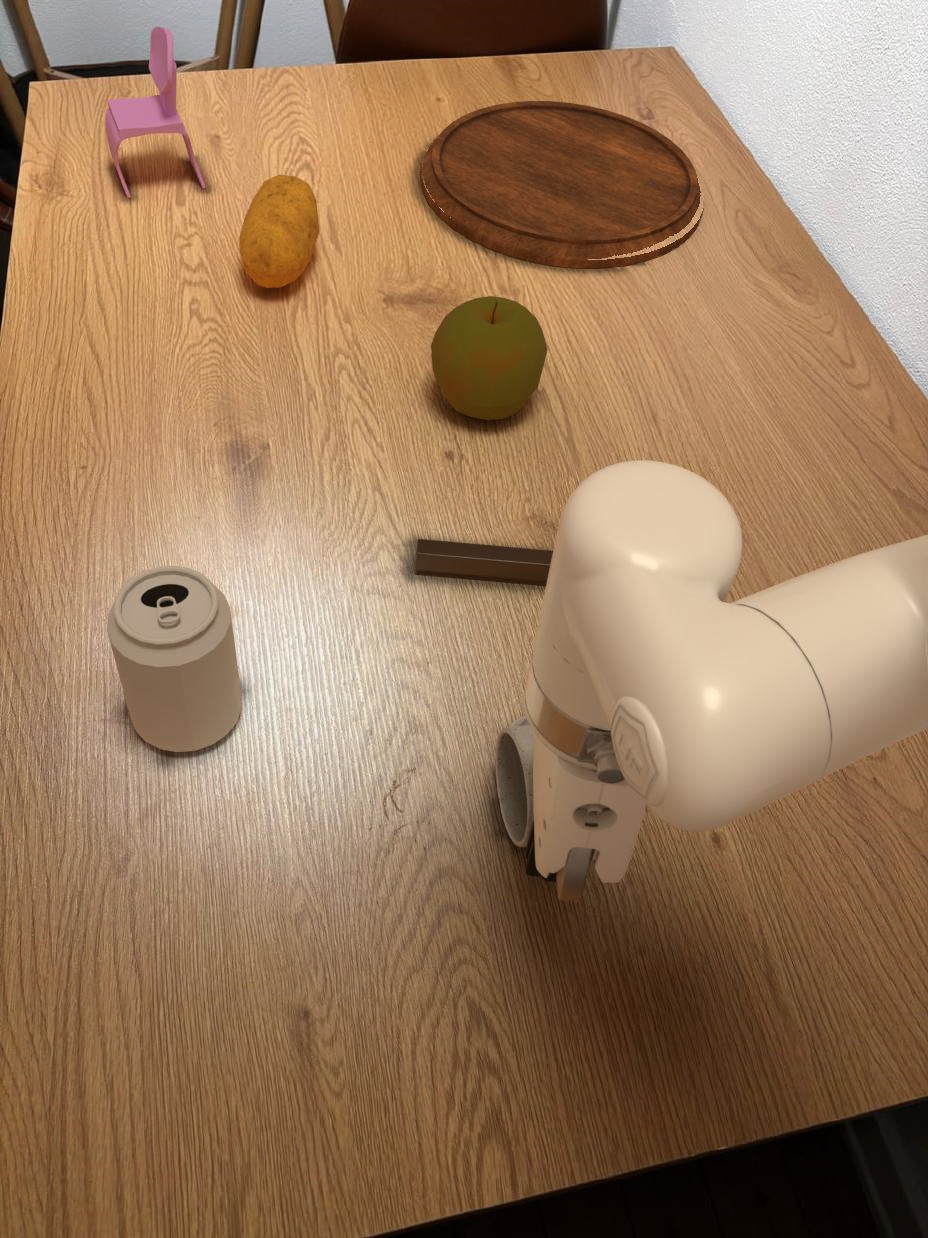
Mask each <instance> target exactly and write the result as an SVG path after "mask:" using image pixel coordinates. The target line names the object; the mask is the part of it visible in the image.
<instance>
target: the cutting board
mask: <svg viewBox="0 0 928 1238" xmlns="http://www.w3.org/2000/svg"><path fill="white" fill-rule="evenodd" d="M432 142H433V143H432ZM432 142H431V144H430V145H429V146H430V147H429V146H428V148H429V149H428V148H427V149H428V151H427V152H426V151H425V152H426V155H425V154H424V155H425V157H424V156H423V158H424V160H423V158H422V160H423V167H422V162H421V164H420V170H421V169H422V173H423V174H421V173H420V177H419V178H420V179H419V180H420V181H419V183H420V187H421V191H422V194H423V197H424V198H425V200H426V202H427V203H428V206H429V207H430V208H431V209H432V210H433V212H434V213H435V214H436V215H437V216H438V218H439V219H440V220H441V221H443V223H445V224H446V225H447V226H449V227H450V228H451V229H452V230H454V231H455V232H457V233H458V234H460V235H462V236H463V237H465V238H466V239H468V240H470V241H472V242H473V243H476V244H478V245H479V246H482V247H484V248H486V249H488V250H491V251H492V252H493V251H494V252H496V253H498V254H501V255H505V256H507V257H510V258H514V259H518V260H522V261H526V262H530V263H533V264H539V265H546V266H552V267H557V268H570V269H571V268H572V269H607V268H609V269H610V268H616V267H625V266H626V267H627V266H631V265H635V264H640V263H644V262H648V261H650V260H653V259H657V258H658V257H662V256H665V255H666V254H668V253H670V252H672V251H673V250H675V249H677V248H678V247H679V248H680V246H681V245H682V244H684V243H685V242H686V241H688V240H689V239H690V238H691V236H692V235H693V234H694V233H695V231H696V230H697V229H698V227H699V225H700V223H701V220H702V217H703V214H704V210H705V207H704V208H703V211H702V214H701V216H700V219H699V220H698V221H697V223H696V224H695V225H694V227H693V228H692V229H691V230H690V231H689V232H688V233H686V234H685V235H684V236H683V237H682V238H680V239H678V240H676V241H675V242H673V243H671V244H669V245H667V246H665V247H662V248H660V249H657V250H654V251H651V252H649V253H644V254H640V255H635V256H631V257H624V258H615V259H607V260H588V259H602V258H608V257H612V256H614V255H615V256H617V255H618V256H619V255H623V254H626V255H627V254H628V253H631V254H632V253H633V252H637V251H640V250H643V249H644V248H646V249H647V247H649V248H650V247H651V246H653V244H654V245H655V244H657V243H659V242H662V241H664V240H665V239H667V238H669V236H674V234H677V233H679V232H680V231H681V230H682V229H684V228H685V227H686V226H687V225H688V224H689V223H690V222H691V220H692V218H693V217H694V215H695V213H696V211H697V209H698V207H699V204H700V196H701V195H700V193H701V191H700V186H699V183H698V178H699V177H698V178H697V176H698V174H697V170H696V169H695V166H694V165H693V162H692V161H691V158H689V157H688V156H687V155H686V153H685V152H684V151H683V149H681V147H680V146H678V145H677V144H676V143H674V142H673V141H672V140H671V139H670V138H669V137H667V136H665V135H664V134H662V133H661V132H660V131H658V130H657V129H654V128H652V127H650V126H649V125H648V124H645V123H643V122H641V121H640V120H639V121H638V120H636V119H634V118H631V117H629V116H626V115H623V114H620V113H618V112H614V111H611V110H607V109H605V108H600V107H595V106H590V105H585V104H579V103H573V102H565V101H554V100H524V101H511V102H505V103H498V104H494V105H490V106H485V107H483V108H479V109H475V110H473V111H471V112H469V113H466V114H464V115H461V116H460V117H458V118H457V119H455V120H454V121H452V122H450V124H448V125H447V126H446V127H445V128H444V129H442V130H441V132H440V133H439V135H438V136H437V137H435V139H433V141H432ZM422 175H423V177H424V181H425V185H426V188H427V189H428V191H429V193H428V192H427V190H426V188H425V186H424V183H423V178H422ZM429 194H430V195H431V197H432V198H431V197H430V195H429ZM432 199H434V201H435V202H434V201H433V200H432ZM439 207H440V208H442V210H443V211H444V212H443V211H442V210H441V209H440V208H439ZM450 217H451V218H450Z"/></svg>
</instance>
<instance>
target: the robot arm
mask: <svg viewBox="0 0 928 1238" xmlns="http://www.w3.org/2000/svg"><path fill="white" fill-rule="evenodd" d="M556 531H557V532H556V536H555V540H554V546H553V550H552V551H553V555H552V560H551V564H550V569H549V574H548V579H547V584H546V586H545V589H544V593H543V594H544V595H543V598H542V604H541V609H540V613H539V617H538V623H537V628H536V632H535V637H534V641H533V648H532V651H531V657H530V662H529V666H528V671H527V676H526V682H525V685H524V691H523V698H522V699H523V700H522V701H523V702H522V703H523V710H524V714H525V716H526V718H527V721H528V723H529V725H530V727H531V729H532V731H533V732H534V751H533V811H534V820H533V823H532V827H531V831H530V834H529V838H528V842H527V846H526V847H525V859H526V864H525V875H527V876H529V877H541V880H543V881H545V882H550V883H556V893H557V894H556V895H557V900H558V901H564V902H579V903H581V902H582V900H583V894H584V890H585V887H586V881H587V877H588V874H589V869H590V863H591V861H595V863H594V869H595V872H596V873H597V876H598V878H599V879H600V881H601V883H602V884H618V883H619V882H620V881H621V880H622V879H623V878H624V877H625V875H626V874H627V871H628V868H629V865H630V862H631V859H632V856H633V853H634V849H635V845H636V843H637V840H638V837H639V834H640V830H641V827H642V822H643V819H644V816H645V810H646V806H647V808H649V809H650V810H651V811H652V812H653V814H654V815H655V816H656V817H658V819H660V820H662V822H664V823H666V824H667V825H668V826H671V827H673V828H674V829H677V830H680V831H684V832H692V833H696V832H709V831H713V830H716V829H719V828H722V827H725V826H727V825H730V824H733V823H734V822H737V821H739V820H740V819H742V818H744V817H747V816H749V815H751V814H753V813H755V812H757V811H759V810H761V809H764V808H765V807H767V806H770V805H772V804H774V803H777V802H778V801H779V800H781V799H784V798H786V797H788V796H790V795H792V794H795V793H797V792H798V791H801V790H803V789H804V788H807V787H810V786H811V785H812V784H814V783H816V782H818V781H820V780H821V779H823V778H826V777H827V776H830V775H832V774H834V773H835V772H837V771H840V770H842V769H843V768H845V767H848V766H850V765H852V764H854V763H856V762H858V761H860V760H862V759H865V758H866V757H868V756H870V755H872V754H875V753H877V752H879V751H881V750H884V749H885V748H888V747H890V746H892V745H895V744H896V743H899V742H901V741H903V740H905V739H908V738H909V737H912V736H914V735H916V734H919V733H921V732H924V731H928V534H924V535H921V536H918V537H917V536H916V537H914V538H911V539H907V540H903V541H900V542H895V543H893V544H888V545H886V546H882V547H879V548H876V549H872V550H869V551H865V552H863V553H859V554H856V555H853V556H850V557H847V558H844V559H841V560H839V561H836V562H833V563H830V564H827V565H825V566H821V567H819V568H816V569H814V570H812V571H808V572H806V573H803V574H800V575H797V576H795V577H793V578H789V579H787V580H784V581H783V582H779V583H777V584H774V585H772V586H770V587H767V588H765V589H763V590H760V591H757V592H754V593H752V594H749V595H747V596H745V597H742V598H740V599H737V600H735V601H732V602H726V601H727V598H728V596H729V594H730V591H731V589H732V586H733V584H734V582H735V579H736V576H737V574H738V573H737V572H738V570H739V567H740V564H741V560H742V555H743V534H742V527H741V525H740V520H739V518H738V516H737V514H736V512H735V509H734V508H733V505H732V504H731V503H730V501H729V500H728V499H727V497H726V496H725V495H724V494H723V493H722V492H721V491H720V490H719V489H718V488H717V487H716V486H715V485H714V484H712V483H711V482H710V481H708V480H707V479H706V478H704V477H702V476H701V475H699V474H697V473H696V472H693V471H692V470H689V469H686V468H685V467H682V466H680V465H676V464H673V463H669V462H663V461H658V460H649V459H648V460H647V459H639V460H638V459H636V460H633V459H631V460H625V461H619V462H615V463H612V464H609V465H607V466H604V467H603V468H600V469H598V470H596V471H594V472H593V473H591V474H590V475H588V476H587V477H586V478H584V479H583V480H582V481H581V482H580V483H579V484H578V485H577V487H576V488H575V489H574V490H573V491H572V493H571V494H570V495H569V496H568V498H567V500H566V502H565V505H564V507H563V510H562V512H561V515H560V518H559V522H558V527H557V530H556Z"/></svg>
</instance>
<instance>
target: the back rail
mask: <svg viewBox="0 0 928 1238" xmlns="http://www.w3.org/2000/svg"><path fill="white" fill-rule="evenodd" d="M416 540H417V541H416V542H417V543H416V551H415V564H414V574H415V575H421V576H431V577H443V578H455V579H466V580H478V581H479V580H480V581H489V582H501V583H510V584H511V583H512V584H523V585H524V584H525V585H536V586H545V587H546V584H547V579H548V574H549V569H550V564H551V560H552V555H553V550H551V549H550V550H549V549H537V548H527V547H517V546H516V547H514V546H506V545H505V546H503V545H493V544H483V543H482V544H480V543H469V542H458V541H447V540H437V539H425V538H424V539H423V538H418V539H416Z"/></svg>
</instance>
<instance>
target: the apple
mask: <svg viewBox="0 0 928 1238" xmlns="http://www.w3.org/2000/svg"><path fill="white" fill-rule="evenodd" d="M430 353H431V366H432V372H433V375H434V377H435V380H436V383H437V385H438V387H439V389H440V390H441V392H442V395H443V396H444V398H445V400H446V402H447V403H448V404H449V405H450V406H451V407H452V408H453V409H454V410H455V411H456V412H457V413H460V414H462V415H465V416H468V417H469V418H475V419H480V420H487V421H490V420H503V419H506V418H508V417H511V416H513V415H516V414H517V413H519V411H520V410H521V409H522V407H523V406H524V405H525V403H527V402H528V400H529V399H530V398H531V396H532V395H534V393H535V392H536V391H537V389H539V386H540V381H541V378H542V374H543V369H544V366H545V361H546V357H547V354H548V346H547V343H546V338H545V335H544V330H543V328H542V326H541V324H540V322H539V320H538V318H537V317H536V316H535V314H533V313H532V312H531V311H530V310H529V309H528V308H527V307H525V305H523V304H521V303H520V302H518V301H516V300H513V299H509V298H506V297H503V296H494V295H493V296H492V295H487V296H481V297H476V298H475V297H474V298H471V299H469V300H466V301H465V302H462V303H461V304H459V305H458V306H456V307H454V308H453V309H452V310H450V311H449V313H447V314H446V315H445V316H443V319H442V320H441V322H440V324H439V326H438V327H437V329H436V331H435V332H434V336H433V338H432V340H431V344H430Z"/></svg>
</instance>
